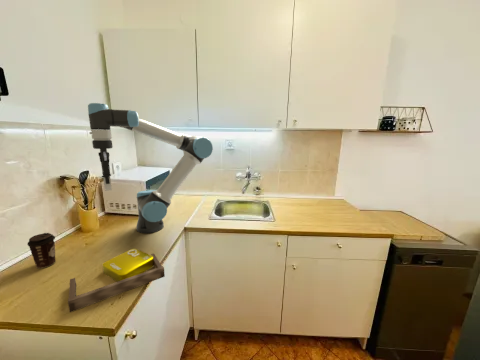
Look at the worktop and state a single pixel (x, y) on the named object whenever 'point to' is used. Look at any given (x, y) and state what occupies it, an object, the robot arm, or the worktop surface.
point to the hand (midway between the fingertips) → (108, 190)
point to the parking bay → (113, 287)
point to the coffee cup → (43, 249)
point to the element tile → (128, 264)
